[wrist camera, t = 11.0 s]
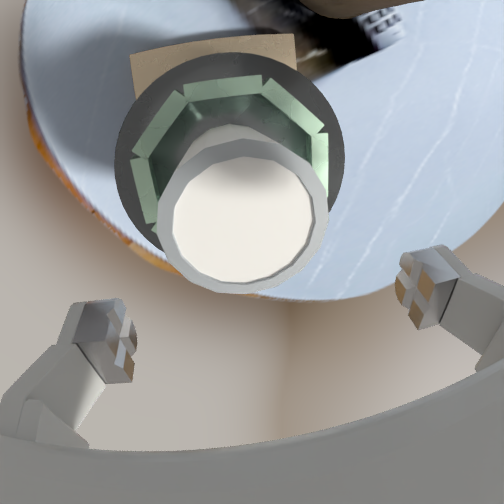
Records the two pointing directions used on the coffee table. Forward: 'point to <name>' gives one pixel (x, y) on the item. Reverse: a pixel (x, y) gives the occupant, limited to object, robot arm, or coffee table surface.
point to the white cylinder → (241, 212)
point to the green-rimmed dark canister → (219, 114)
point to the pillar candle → (350, 6)
